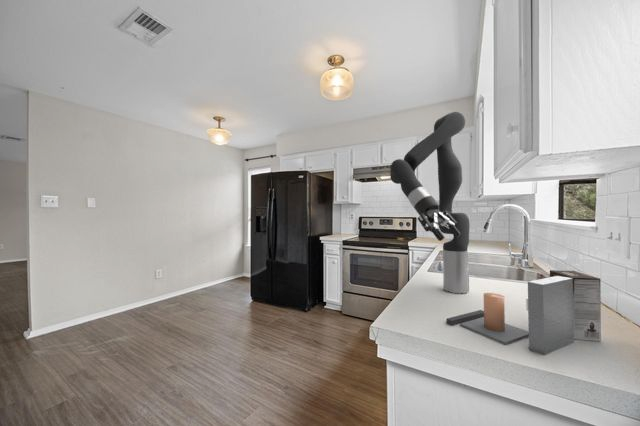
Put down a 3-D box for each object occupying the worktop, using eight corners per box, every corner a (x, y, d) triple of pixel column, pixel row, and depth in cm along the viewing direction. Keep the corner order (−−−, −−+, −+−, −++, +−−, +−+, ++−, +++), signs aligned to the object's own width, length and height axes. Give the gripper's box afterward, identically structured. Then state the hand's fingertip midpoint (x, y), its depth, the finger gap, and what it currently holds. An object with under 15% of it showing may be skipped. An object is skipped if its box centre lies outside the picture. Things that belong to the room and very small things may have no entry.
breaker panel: (552, 335, 67) (551, 274, 67) (573, 342, 63) (572, 278, 63) (523, 346, 61) (521, 280, 61) (544, 355, 57) (543, 284, 57)
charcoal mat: (486, 318, 78) (486, 316, 78) (532, 335, 67) (532, 332, 67) (460, 325, 73) (460, 323, 73) (505, 344, 62) (505, 342, 62)
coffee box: (548, 324, 73) (547, 269, 74) (574, 326, 72) (573, 270, 72) (573, 339, 64) (572, 276, 65) (603, 342, 63) (602, 278, 63)
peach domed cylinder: (491, 323, 73) (490, 292, 73) (508, 329, 69) (508, 296, 69) (480, 325, 71) (479, 294, 71) (497, 333, 67) (497, 299, 67)
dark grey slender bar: (480, 315, 81) (480, 309, 81) (486, 317, 80) (486, 311, 80) (446, 324, 74) (446, 318, 74) (451, 327, 73) (451, 320, 73)
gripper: (415, 196, 87) (444, 234, 79) (441, 193, 94) (471, 228, 85) (403, 210, 92) (429, 247, 84) (429, 206, 99) (455, 240, 91)
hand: (450, 237), depth 85 cm, fingers open, 8 cm apart
